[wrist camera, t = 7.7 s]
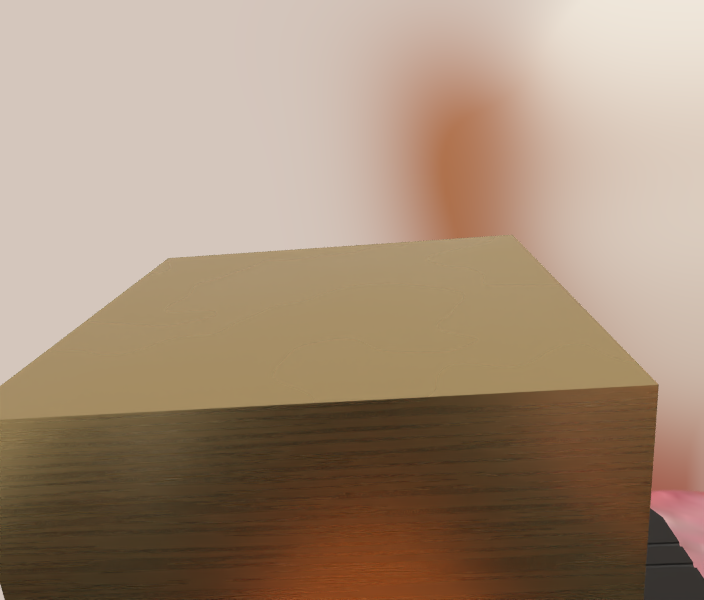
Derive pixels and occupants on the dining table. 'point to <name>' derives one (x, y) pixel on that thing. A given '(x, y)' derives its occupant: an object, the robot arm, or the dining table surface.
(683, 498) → the dining table surface
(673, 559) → the robot arm
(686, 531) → the dining table surface
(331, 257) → the block
